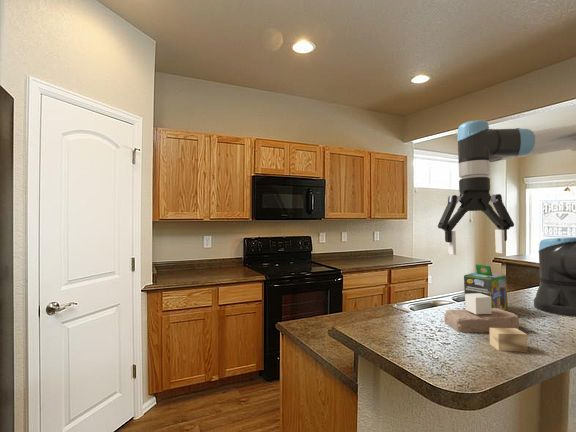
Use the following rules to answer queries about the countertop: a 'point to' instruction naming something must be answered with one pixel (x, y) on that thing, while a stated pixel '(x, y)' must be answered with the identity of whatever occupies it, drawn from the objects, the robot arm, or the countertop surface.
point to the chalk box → (488, 286)
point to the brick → (480, 320)
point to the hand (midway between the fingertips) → (476, 253)
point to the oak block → (508, 339)
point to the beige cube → (478, 303)
